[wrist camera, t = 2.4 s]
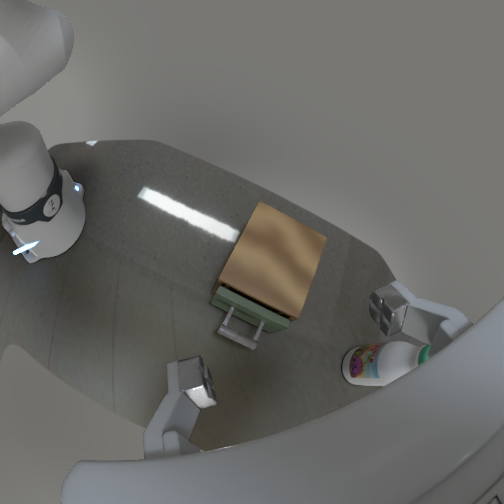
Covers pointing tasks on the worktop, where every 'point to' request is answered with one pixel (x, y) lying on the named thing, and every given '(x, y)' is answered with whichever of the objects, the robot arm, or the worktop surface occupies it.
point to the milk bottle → (382, 362)
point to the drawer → (247, 315)
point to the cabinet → (274, 261)
